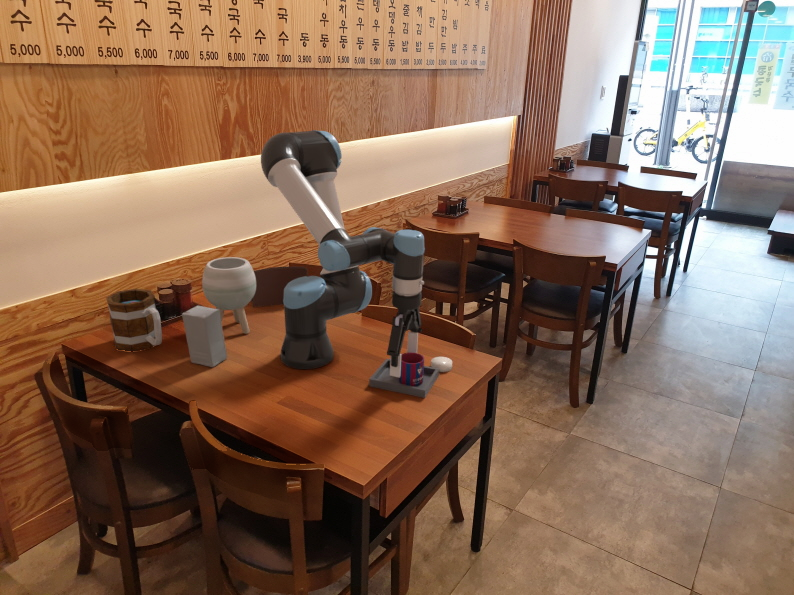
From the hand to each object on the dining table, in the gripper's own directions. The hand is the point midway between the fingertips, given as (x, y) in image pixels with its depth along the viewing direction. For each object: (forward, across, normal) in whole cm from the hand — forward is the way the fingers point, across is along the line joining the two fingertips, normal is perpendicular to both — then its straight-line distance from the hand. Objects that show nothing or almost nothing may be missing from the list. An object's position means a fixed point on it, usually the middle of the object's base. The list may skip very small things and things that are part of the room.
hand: (403, 364), depth 157 cm
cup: (+4, 0, -1) cm, 5 cm away
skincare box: (+6, -11, +55) cm, 57 cm away
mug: (+7, -10, +79) cm, 80 cm away
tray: (+5, 0, 0) cm, 5 cm away
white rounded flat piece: (+5, +11, -8) cm, 14 cm away
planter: (+6, +10, +61) cm, 62 cm away
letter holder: (+7, +38, +61) cm, 72 cm away
